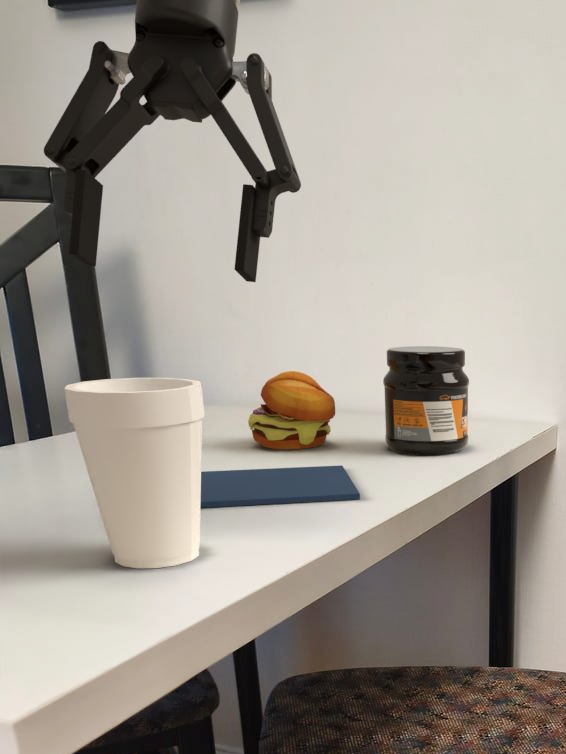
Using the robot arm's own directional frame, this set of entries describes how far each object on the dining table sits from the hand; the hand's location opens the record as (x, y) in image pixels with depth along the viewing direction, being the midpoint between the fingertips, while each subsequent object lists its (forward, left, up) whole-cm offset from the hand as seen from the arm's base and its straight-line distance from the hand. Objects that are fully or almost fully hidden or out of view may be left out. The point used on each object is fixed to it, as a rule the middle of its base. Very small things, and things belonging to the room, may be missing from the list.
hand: (163, 268), depth 71 cm
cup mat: (+6, +12, -21) cm, 25 cm away
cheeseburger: (+12, +36, -21) cm, 43 cm away
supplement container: (+28, +30, -21) cm, 46 cm away
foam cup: (-2, -10, -21) cm, 23 cm away
